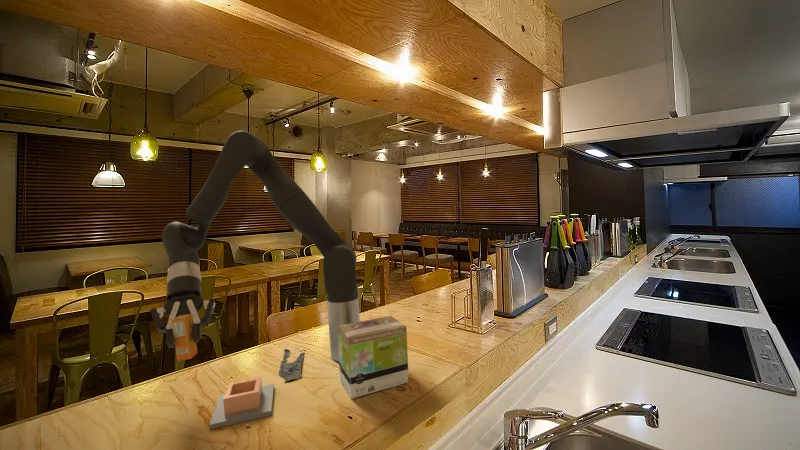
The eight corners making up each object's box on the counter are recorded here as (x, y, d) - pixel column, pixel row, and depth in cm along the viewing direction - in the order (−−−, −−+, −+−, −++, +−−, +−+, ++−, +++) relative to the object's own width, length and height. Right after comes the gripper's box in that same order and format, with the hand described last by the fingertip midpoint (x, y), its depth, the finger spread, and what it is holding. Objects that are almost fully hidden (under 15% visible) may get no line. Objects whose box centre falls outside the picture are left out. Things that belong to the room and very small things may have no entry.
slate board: (274, 387, 83) (273, 383, 83) (271, 415, 72) (271, 410, 72) (220, 398, 79) (220, 394, 79) (209, 429, 68) (208, 424, 68)
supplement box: (183, 354, 80) (179, 314, 80) (197, 353, 80) (193, 313, 80) (175, 361, 77) (170, 319, 76) (190, 359, 77) (186, 317, 77)
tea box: (351, 401, 75) (347, 337, 74) (339, 381, 84) (336, 324, 84) (410, 383, 82) (407, 324, 81) (393, 366, 91) (390, 313, 90)
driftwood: (301, 382, 86) (300, 374, 86) (274, 386, 85) (273, 378, 84) (306, 351, 106) (306, 344, 106) (284, 354, 105) (284, 347, 105)
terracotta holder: (262, 391, 80) (261, 376, 80) (259, 407, 73) (258, 391, 73) (230, 397, 78) (229, 383, 77) (224, 414, 71) (223, 399, 71)
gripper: (147, 279, 81) (142, 344, 71) (214, 270, 88) (217, 328, 77) (153, 295, 86) (149, 358, 76) (216, 286, 92) (220, 343, 82)
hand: (184, 343), depth 77 cm, fingers closed on supplement box, 4 cm apart
